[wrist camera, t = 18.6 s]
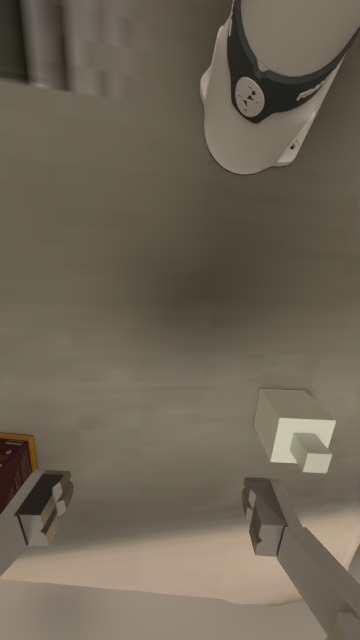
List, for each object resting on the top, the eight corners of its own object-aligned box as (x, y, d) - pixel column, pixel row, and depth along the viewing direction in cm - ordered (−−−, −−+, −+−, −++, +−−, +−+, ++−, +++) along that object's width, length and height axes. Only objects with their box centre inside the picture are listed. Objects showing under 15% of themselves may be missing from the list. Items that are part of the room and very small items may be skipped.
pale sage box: (259, 388, 42) (292, 436, 29) (304, 390, 42) (356, 439, 29) (253, 425, 44) (281, 484, 32) (295, 427, 44) (340, 487, 32)
